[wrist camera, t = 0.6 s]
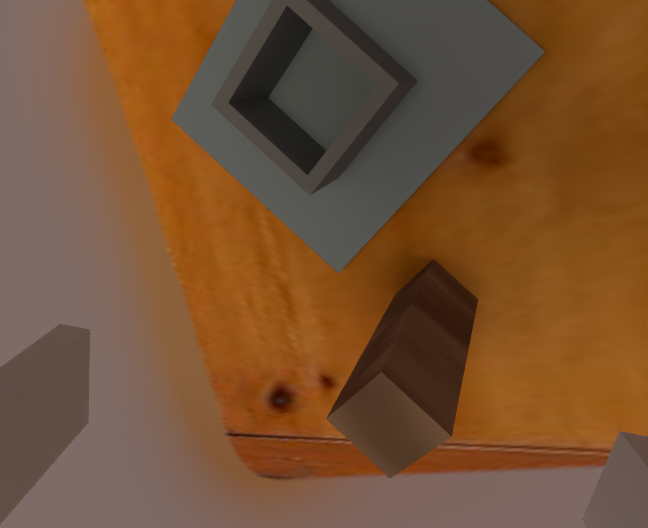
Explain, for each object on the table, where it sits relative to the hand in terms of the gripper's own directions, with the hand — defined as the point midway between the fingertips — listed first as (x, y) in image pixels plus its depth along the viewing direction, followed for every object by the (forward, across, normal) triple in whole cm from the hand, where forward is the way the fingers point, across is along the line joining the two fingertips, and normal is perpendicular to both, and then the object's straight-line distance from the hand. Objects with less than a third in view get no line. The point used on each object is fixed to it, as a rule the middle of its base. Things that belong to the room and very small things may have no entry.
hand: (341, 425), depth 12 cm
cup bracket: (+23, -3, +8) cm, 24 cm away
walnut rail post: (+22, +6, -4) cm, 23 cm away
